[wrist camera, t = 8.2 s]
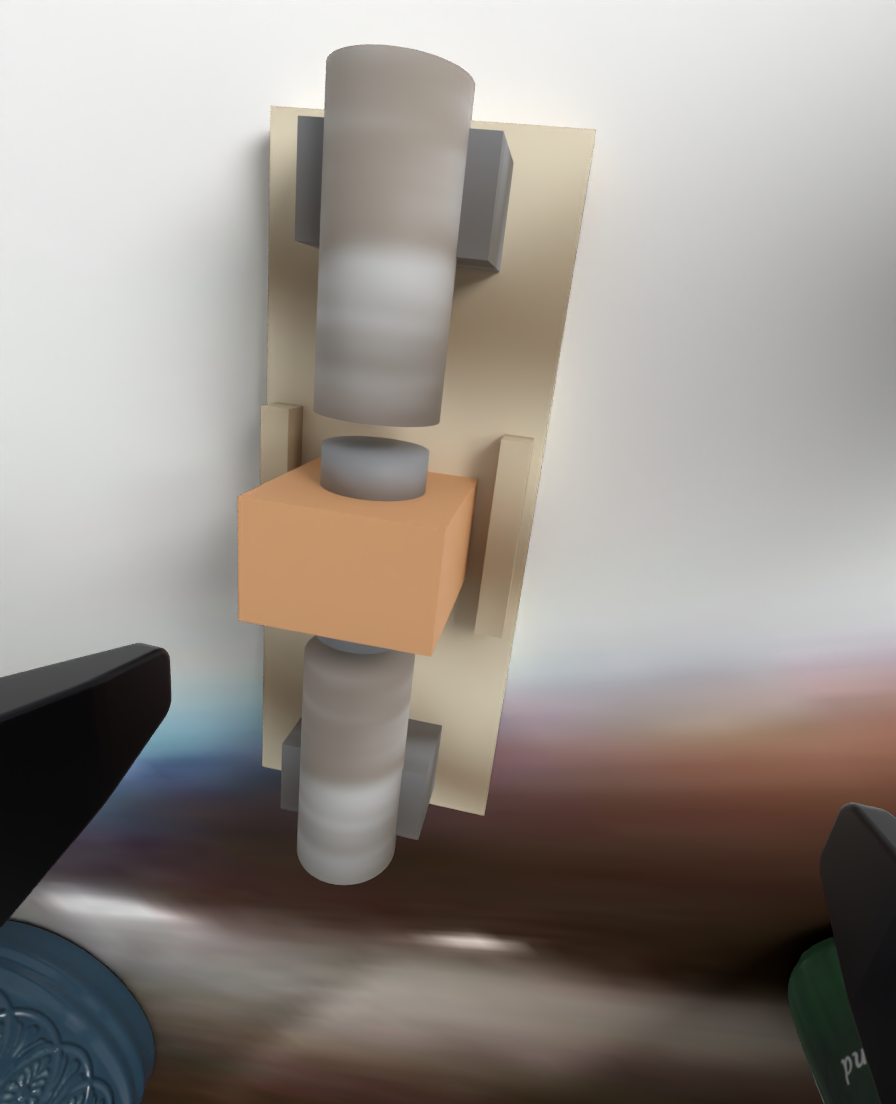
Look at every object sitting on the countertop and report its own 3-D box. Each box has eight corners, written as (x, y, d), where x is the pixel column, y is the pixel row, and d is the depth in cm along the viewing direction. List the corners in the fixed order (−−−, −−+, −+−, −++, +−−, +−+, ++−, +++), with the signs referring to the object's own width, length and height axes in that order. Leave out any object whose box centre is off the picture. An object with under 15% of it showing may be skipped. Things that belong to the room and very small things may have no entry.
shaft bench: (290, 121, 17) (176, 32, 12) (593, 144, 16) (605, 57, 11) (277, 745, 24) (201, 851, 19) (488, 791, 22) (465, 916, 18)
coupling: (323, 421, 18) (237, 450, 13) (482, 443, 17) (450, 482, 13) (317, 582, 20) (238, 658, 15) (461, 607, 19) (426, 695, 14)
